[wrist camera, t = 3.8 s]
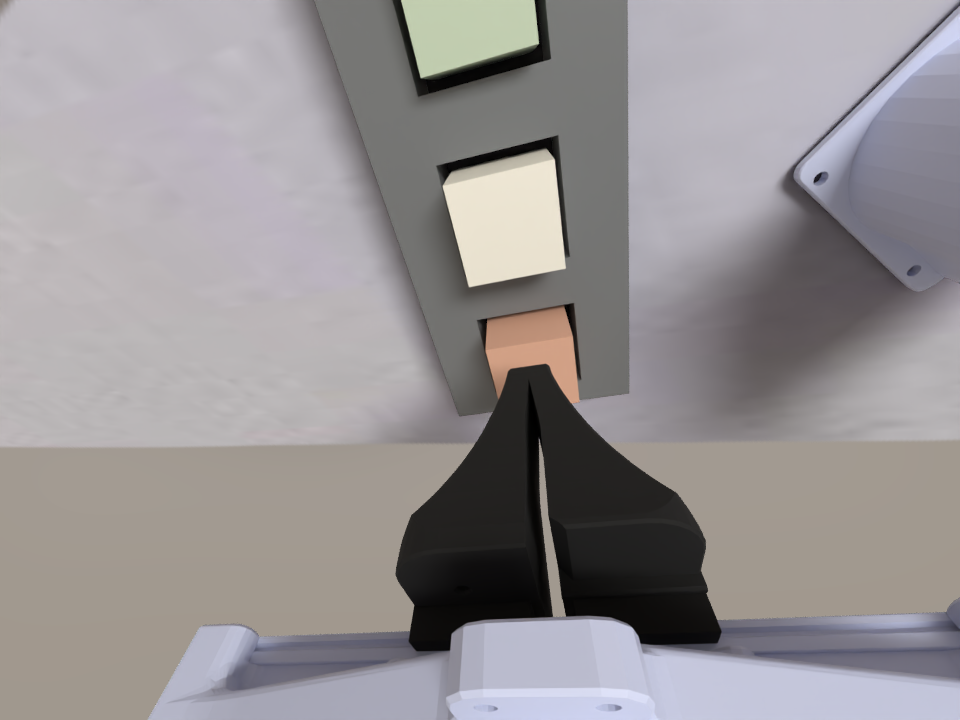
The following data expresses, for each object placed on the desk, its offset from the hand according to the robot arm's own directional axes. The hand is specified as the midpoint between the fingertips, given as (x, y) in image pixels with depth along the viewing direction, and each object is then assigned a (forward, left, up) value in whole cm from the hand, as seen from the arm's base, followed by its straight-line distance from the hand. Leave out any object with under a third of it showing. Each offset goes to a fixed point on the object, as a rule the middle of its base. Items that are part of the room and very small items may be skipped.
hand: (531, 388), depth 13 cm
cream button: (+3, -3, -6) cm, 8 cm away
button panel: (+3, -3, -7) cm, 9 cm away
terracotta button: (-1, +1, -6) cm, 6 cm away
